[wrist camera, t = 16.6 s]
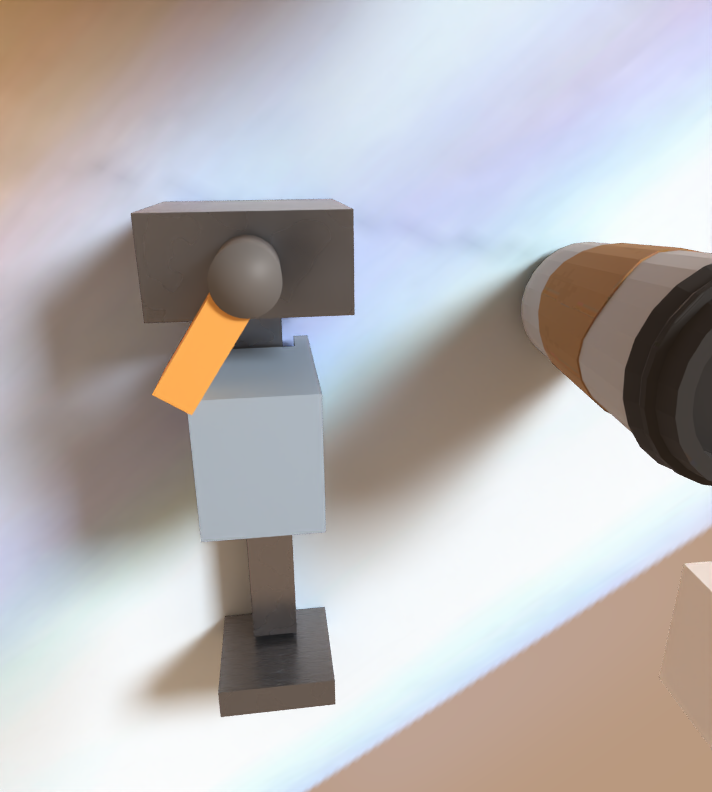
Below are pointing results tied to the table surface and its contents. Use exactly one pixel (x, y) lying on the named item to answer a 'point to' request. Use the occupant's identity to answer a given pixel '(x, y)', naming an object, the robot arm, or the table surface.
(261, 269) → the lever
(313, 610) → the square post base
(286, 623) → the rail
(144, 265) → the end cabinet
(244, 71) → the table surface
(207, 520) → the block
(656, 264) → the coffee cup
